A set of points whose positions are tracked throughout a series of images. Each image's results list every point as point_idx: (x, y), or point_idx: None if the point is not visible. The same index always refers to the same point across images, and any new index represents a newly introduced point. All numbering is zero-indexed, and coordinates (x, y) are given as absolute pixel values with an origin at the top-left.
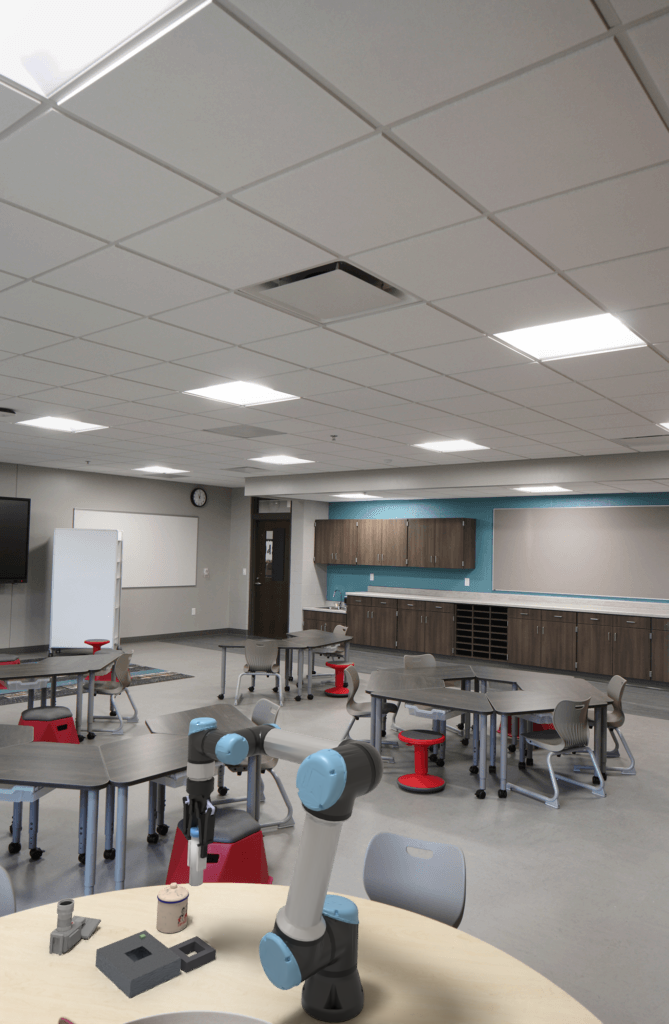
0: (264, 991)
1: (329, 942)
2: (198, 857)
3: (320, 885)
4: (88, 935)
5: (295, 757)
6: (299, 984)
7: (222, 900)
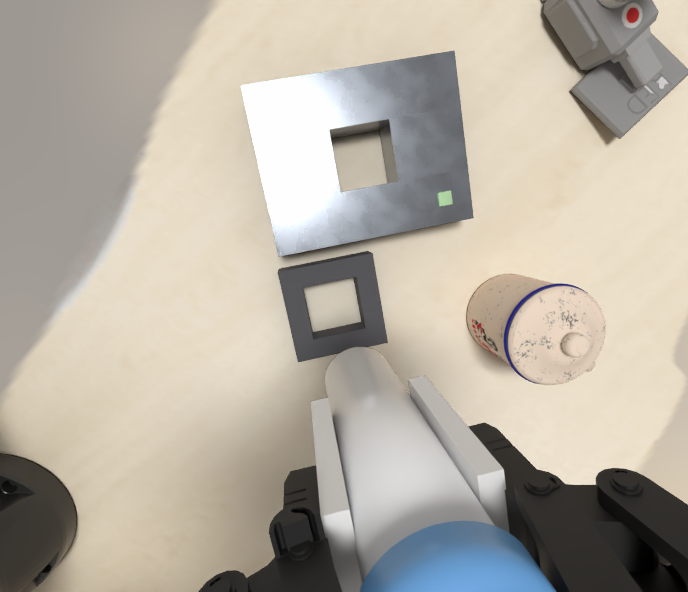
0: (111, 404)
1: None
2: (315, 452)
3: None
4: (578, 90)
5: None
6: None
7: (540, 466)
